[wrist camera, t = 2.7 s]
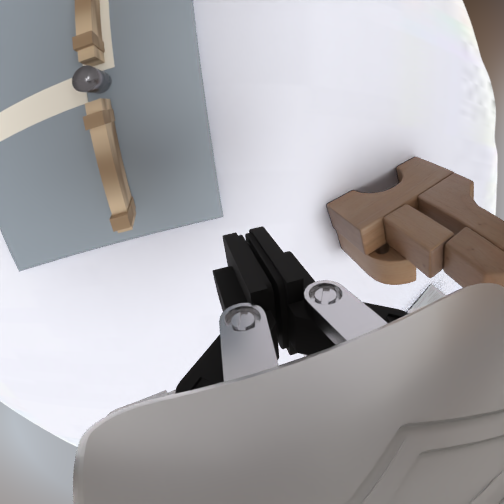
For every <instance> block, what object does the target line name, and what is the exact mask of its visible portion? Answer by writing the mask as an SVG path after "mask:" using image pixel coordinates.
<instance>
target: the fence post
mask: <svg viewBox="0 0 504 504" xmlns="http://www.w3.org/2000/svg"><path fill="white" fill-rule="evenodd" d="M111 83H112V80H111V77H110V75H109V74H107V73H105V72H103V71H101V70H99V69H97V68H95V67H92V66H89V65H86V66H82V67H80V68H79V69H78V70H77V71H76V72H75V73H74V75H73V78H72V85H73V87H74V89H75V90H77V91H79V92H88V93H97V94H101V93H104V92H106V91H107V90H108V89H109V88H110V86H111Z"/></svg>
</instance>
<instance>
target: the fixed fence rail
mask: <svg viewBox="0 0 504 504" xmlns="http://www.w3.org/2000/svg"><path fill="white" fill-rule="evenodd" d="M75 26H76V36H74V37H72V42H73V50H74V51H76V52H78V61H79V62H80V63H82V64H84V65H89V66H92V67H93V66H96V65H99V64H102V63H105V60H104V52H105V49H104V41H102V31H101V18H100V0H75Z"/></svg>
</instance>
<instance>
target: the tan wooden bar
mask: <svg viewBox="0 0 504 504" xmlns="http://www.w3.org/2000/svg"><path fill="white" fill-rule="evenodd" d="M85 109H86V114H87V115H86V116H84V117H83V121H84V126H85V131H86V130H89V129H90V134H91V139H92V143H93V148H94V152H95V156H96V160H97V164H98V168H99V172H100V176H101V179H102V183H103V187H104V190H105V194H106V197H107V200H108V204H109V207H110V210H111V213H112V215H111V217H110V219H109V220H110V223H111V226H112V229H113V232H115V231H117V232H118V233H121V232H125V231H129V230H133V225H134V221H135V216H136V210H135V209H136V206H135V203H134V199H133V197H132V196H131V192H130V188H129V185H128V181H127V177H126V173H125V169H124V165H123V160H122V156H121V152H120V147H119V142H118V138H117V133H116V128H115V123H114V121H115V116H114V111H113V109H112V107H111V101H110V99H104V98H100V99H97V100H94V101H91V102H88V103H85Z"/></svg>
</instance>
